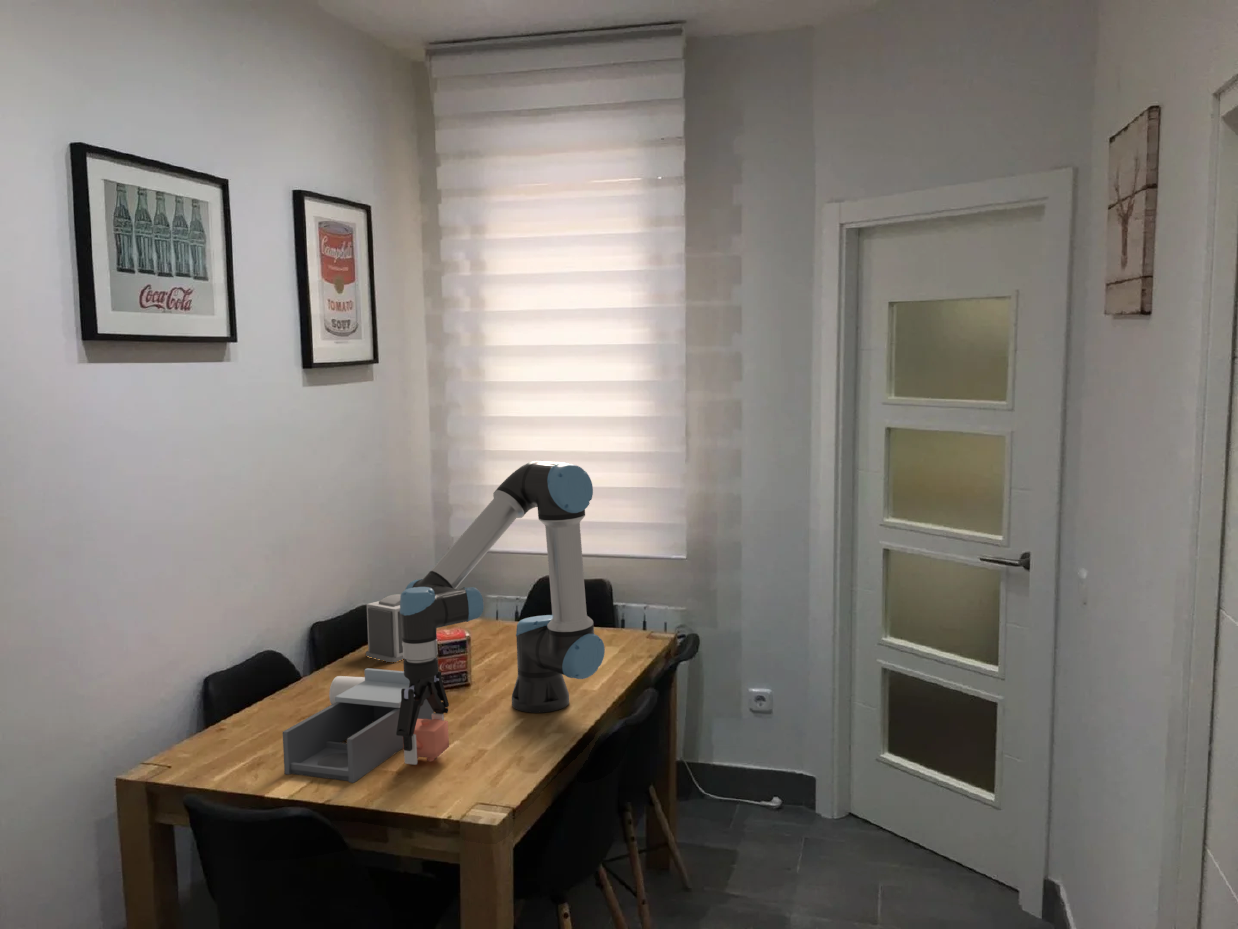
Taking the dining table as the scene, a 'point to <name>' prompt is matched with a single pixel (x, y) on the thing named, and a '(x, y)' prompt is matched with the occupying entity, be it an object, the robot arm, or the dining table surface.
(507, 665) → the dining table surface
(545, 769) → the dining table surface
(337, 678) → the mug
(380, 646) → the grey panelled box
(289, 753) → the housing
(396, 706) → the lid
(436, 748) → the pink cube teapot
